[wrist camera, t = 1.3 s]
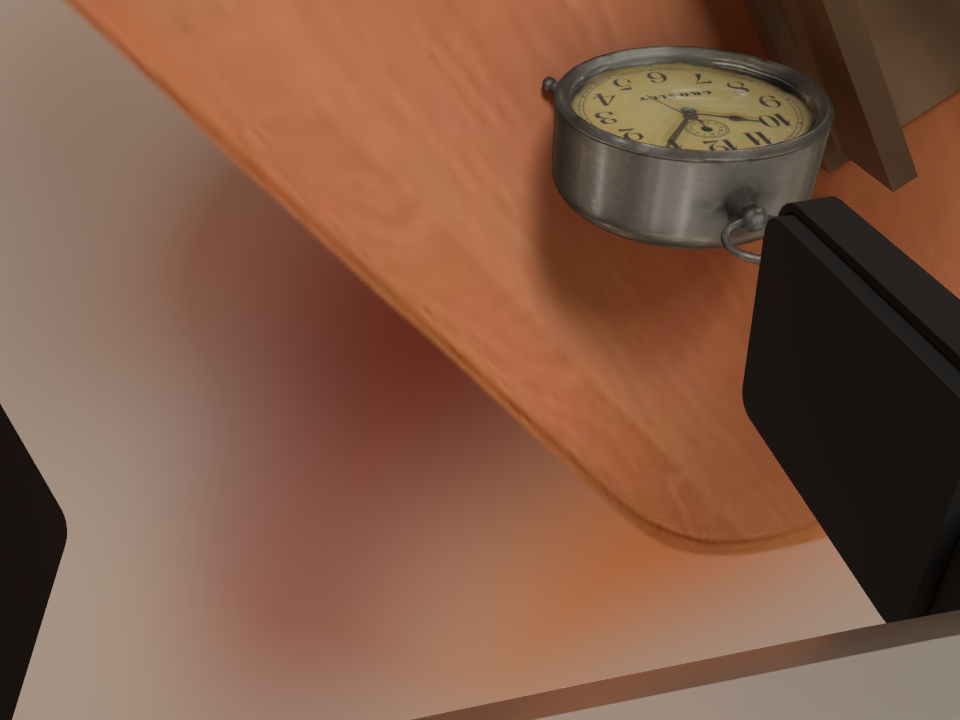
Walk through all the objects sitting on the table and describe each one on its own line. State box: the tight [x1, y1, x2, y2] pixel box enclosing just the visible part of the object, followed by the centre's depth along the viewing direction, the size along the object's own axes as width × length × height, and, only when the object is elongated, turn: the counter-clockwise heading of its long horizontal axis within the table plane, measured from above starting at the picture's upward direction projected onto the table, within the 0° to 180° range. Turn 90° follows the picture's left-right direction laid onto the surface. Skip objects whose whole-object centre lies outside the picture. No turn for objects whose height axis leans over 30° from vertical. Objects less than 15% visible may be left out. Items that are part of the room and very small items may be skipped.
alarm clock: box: [542, 46, 834, 265], centre depth 33 cm, size 11×5×16 cm, turn 91°
